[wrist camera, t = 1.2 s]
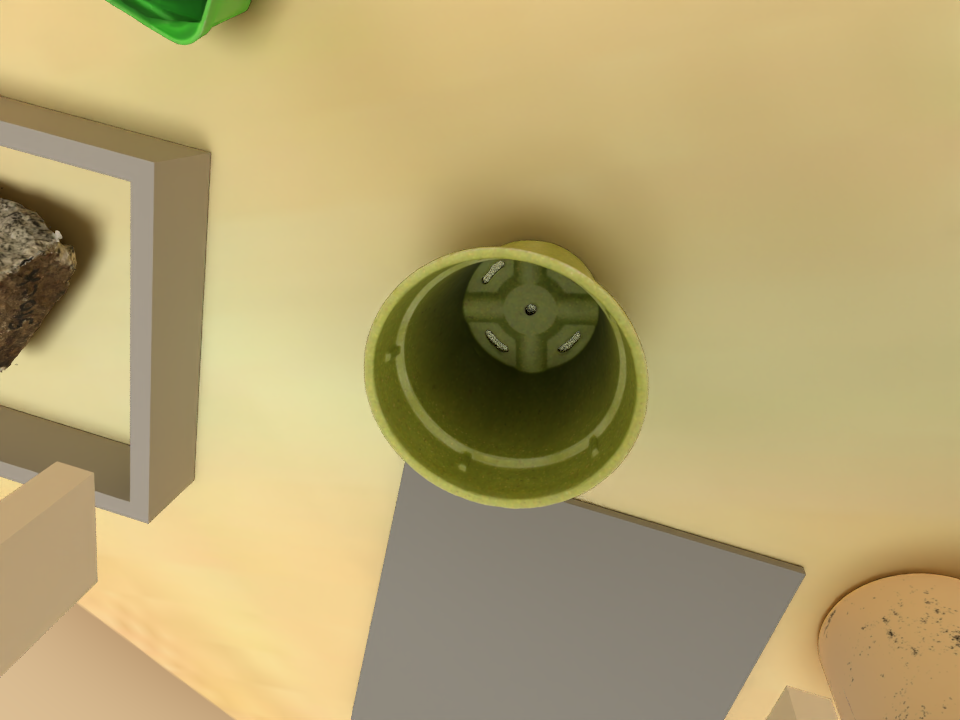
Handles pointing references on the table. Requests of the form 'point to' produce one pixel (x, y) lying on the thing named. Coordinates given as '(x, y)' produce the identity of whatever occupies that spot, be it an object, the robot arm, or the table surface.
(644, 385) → the plant pot
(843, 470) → the table surface
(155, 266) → the rock display frame
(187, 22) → the fruit basket
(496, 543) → the charcoal mat
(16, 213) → the rock sample
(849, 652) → the teacup with lid
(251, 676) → the table surface
